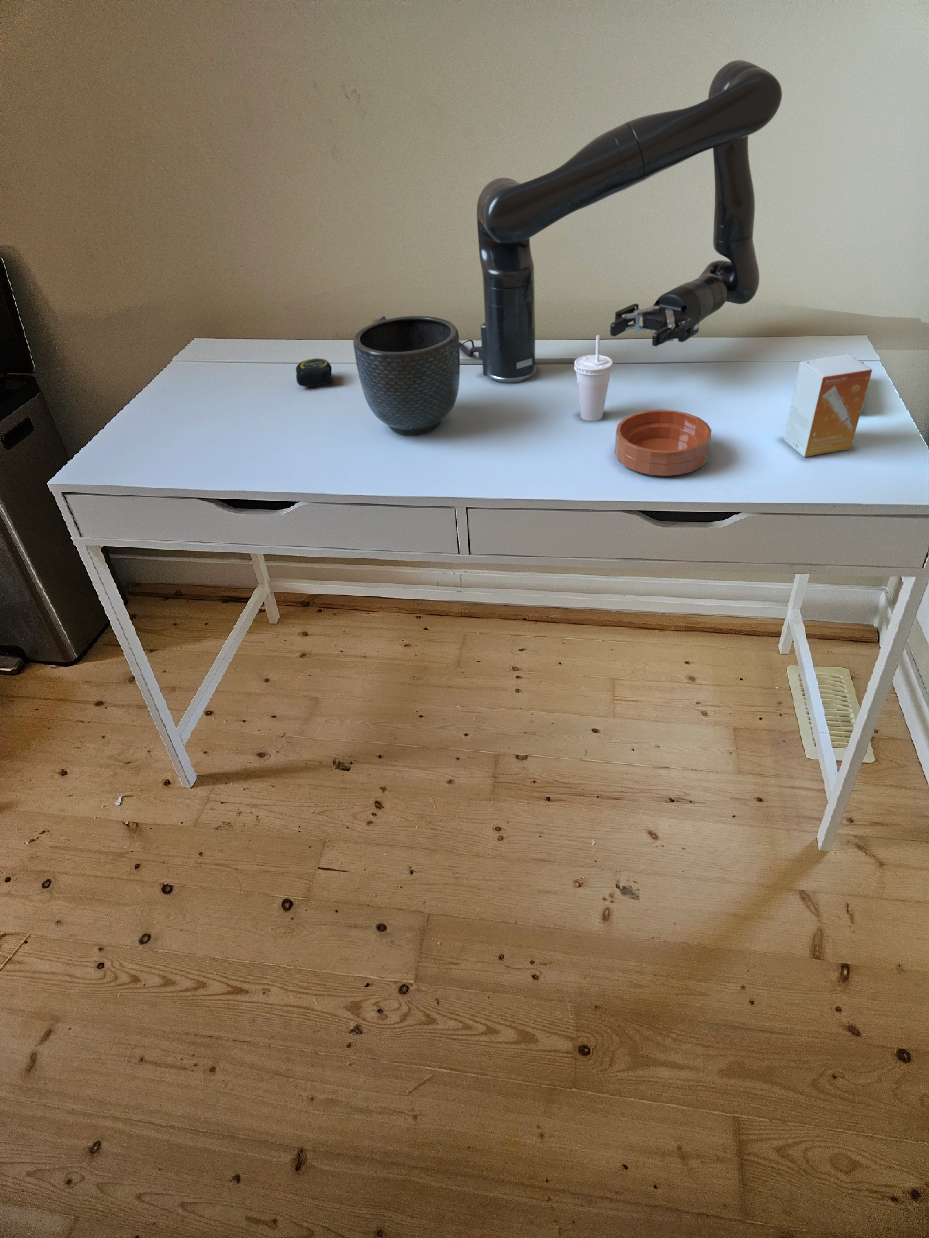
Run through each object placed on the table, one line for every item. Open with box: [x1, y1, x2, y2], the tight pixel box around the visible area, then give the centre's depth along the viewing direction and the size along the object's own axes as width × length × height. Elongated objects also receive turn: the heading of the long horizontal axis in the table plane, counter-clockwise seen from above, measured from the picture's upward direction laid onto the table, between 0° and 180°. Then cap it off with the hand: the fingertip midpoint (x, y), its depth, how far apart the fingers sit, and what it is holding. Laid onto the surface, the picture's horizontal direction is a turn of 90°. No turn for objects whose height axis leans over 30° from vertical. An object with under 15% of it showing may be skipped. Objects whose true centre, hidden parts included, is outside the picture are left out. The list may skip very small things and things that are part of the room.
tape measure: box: [295, 358, 333, 387], centre depth 158 cm, size 7×7×4 cm
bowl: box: [614, 409, 712, 477], centre depth 126 cm, size 14×14×4 cm
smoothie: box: [573, 334, 614, 422], centre depth 136 cm, size 6×6×14 cm
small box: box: [783, 353, 873, 458], centre depth 123 cm, size 8×6×13 cm
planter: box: [352, 315, 461, 437], centre depth 137 cm, size 17×17×16 cm
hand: (632, 335), depth 139 cm, fingers open, 8 cm apart
